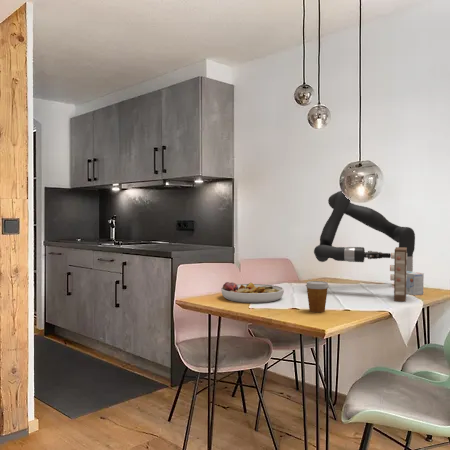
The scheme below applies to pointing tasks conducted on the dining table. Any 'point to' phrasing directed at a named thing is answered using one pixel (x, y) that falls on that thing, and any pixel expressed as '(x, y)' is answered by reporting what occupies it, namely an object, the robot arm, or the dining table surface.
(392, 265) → the middle button
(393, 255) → the top button
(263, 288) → the bowl
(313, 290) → the disposable coffee cup
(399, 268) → the wooden peg board
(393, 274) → the bottom button
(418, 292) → the light bulb box
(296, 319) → the dining table surface
